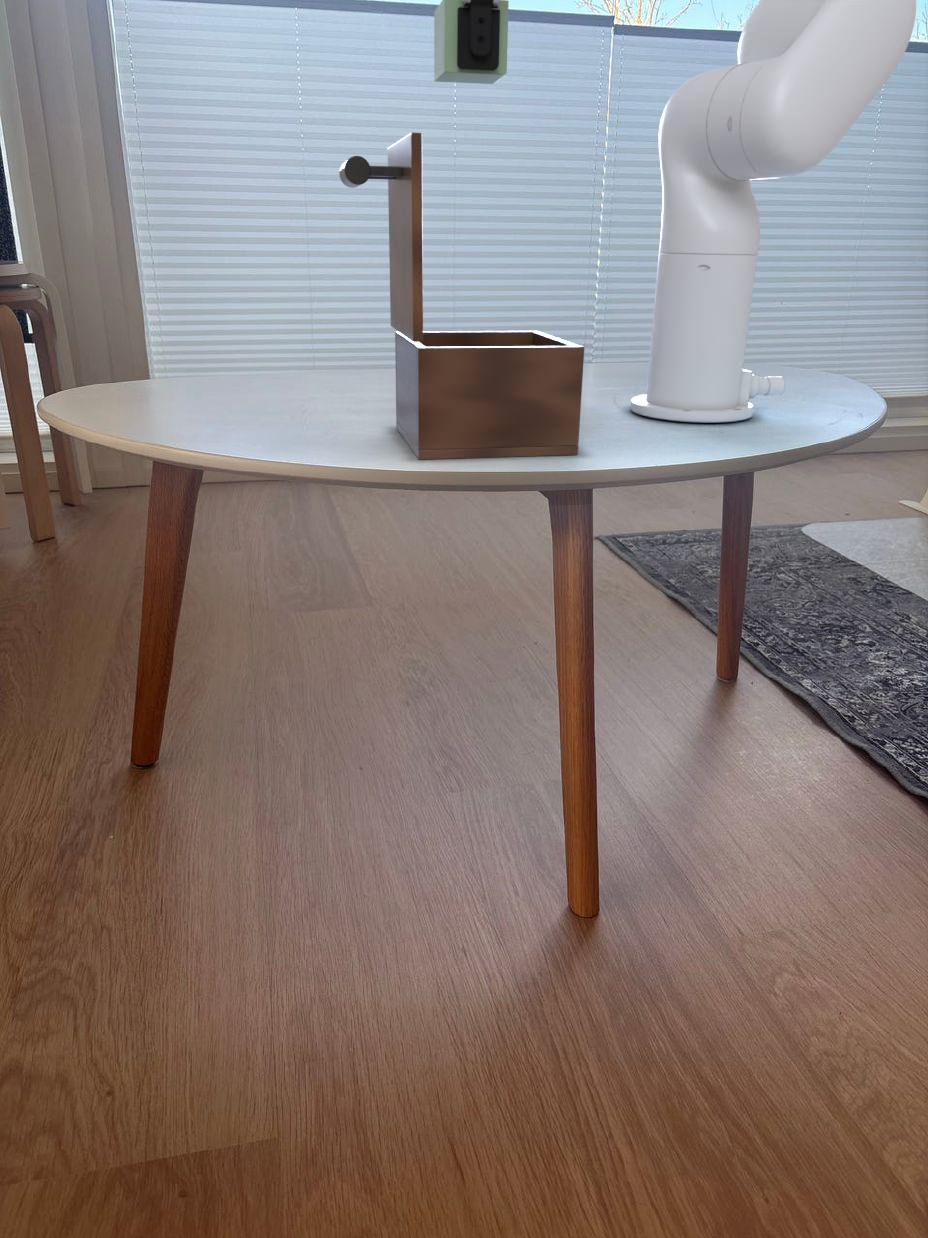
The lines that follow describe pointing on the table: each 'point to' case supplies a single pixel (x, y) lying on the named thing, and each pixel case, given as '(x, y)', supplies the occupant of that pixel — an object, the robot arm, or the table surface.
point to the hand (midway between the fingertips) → (470, 72)
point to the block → (447, 46)
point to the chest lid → (400, 227)
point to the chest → (488, 394)
